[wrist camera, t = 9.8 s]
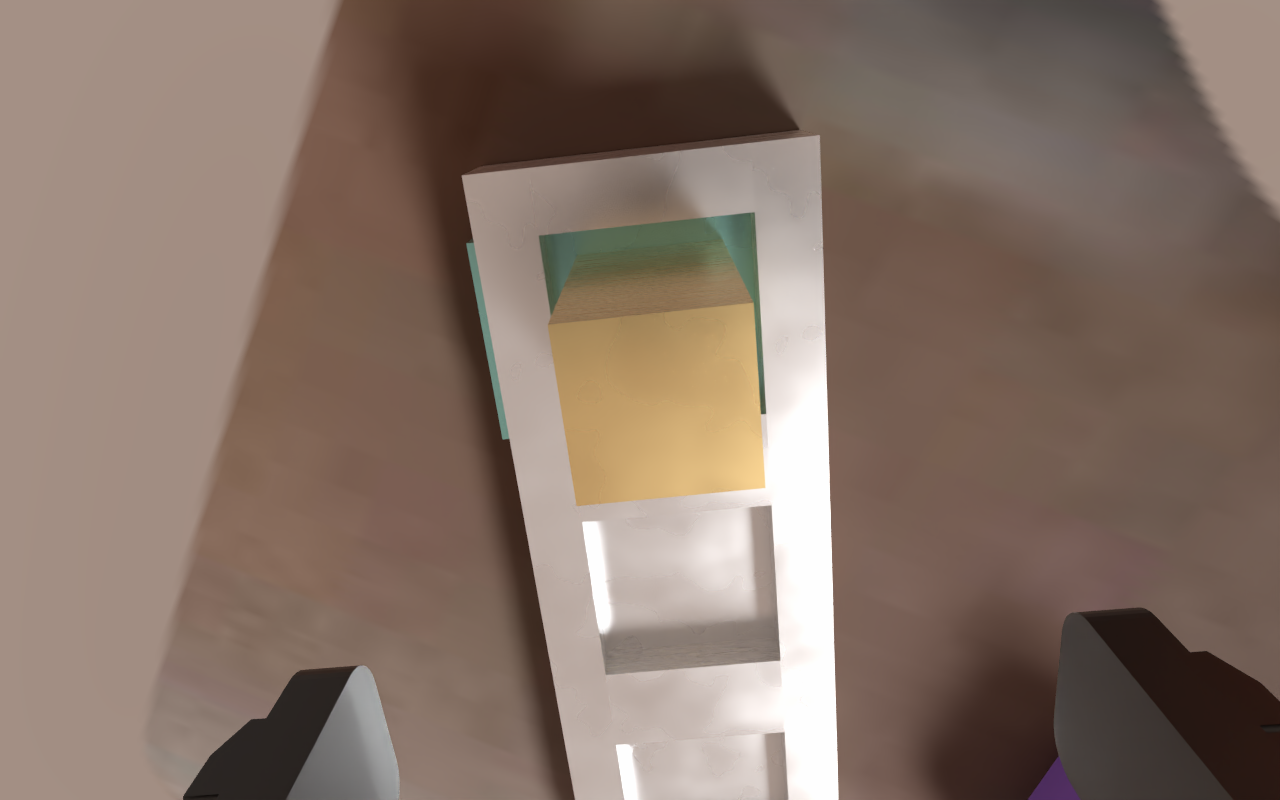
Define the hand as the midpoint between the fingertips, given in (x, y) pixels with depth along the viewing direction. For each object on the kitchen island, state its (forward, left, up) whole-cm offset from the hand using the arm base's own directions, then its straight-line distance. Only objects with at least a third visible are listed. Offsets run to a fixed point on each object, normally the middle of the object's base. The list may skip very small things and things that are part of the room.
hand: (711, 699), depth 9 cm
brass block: (0, -1, -15) cm, 15 cm away
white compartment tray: (0, +8, -16) cm, 18 cm away
